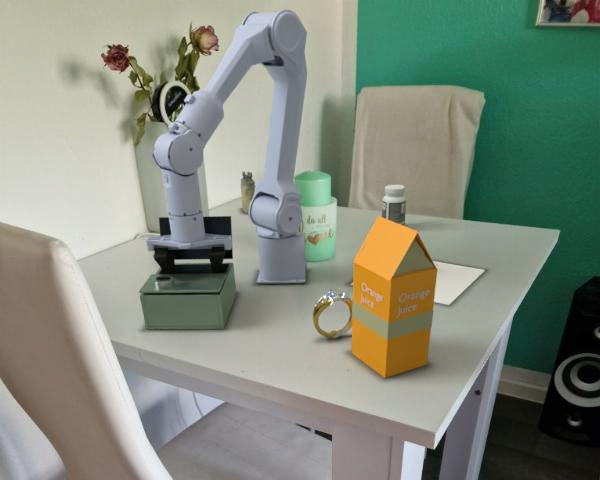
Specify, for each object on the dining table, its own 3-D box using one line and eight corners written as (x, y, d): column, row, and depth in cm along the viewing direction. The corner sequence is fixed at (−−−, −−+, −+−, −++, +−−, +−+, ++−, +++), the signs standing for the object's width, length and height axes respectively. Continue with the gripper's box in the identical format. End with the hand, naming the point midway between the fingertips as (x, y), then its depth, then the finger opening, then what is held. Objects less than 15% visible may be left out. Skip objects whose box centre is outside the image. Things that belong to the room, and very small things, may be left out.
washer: (167, 294, 106) (162, 259, 103) (236, 293, 106) (232, 258, 102) (146, 329, 94) (138, 291, 90) (223, 329, 93) (219, 290, 89)
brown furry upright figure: (258, 213, 153) (255, 175, 148) (244, 214, 152) (241, 176, 147) (253, 207, 159) (250, 169, 153) (240, 208, 158) (237, 171, 153)
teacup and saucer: (440, 269, 113) (442, 250, 111) (425, 282, 107) (427, 262, 105) (400, 262, 117) (402, 243, 115) (384, 274, 112) (385, 254, 109)
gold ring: (352, 330, 91) (353, 284, 87) (358, 339, 89) (359, 292, 84) (310, 336, 90) (309, 289, 86) (315, 344, 87) (315, 297, 83)
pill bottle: (408, 227, 138) (411, 185, 133) (398, 233, 134) (401, 190, 129) (386, 224, 141) (389, 183, 136) (377, 230, 137) (379, 188, 132)
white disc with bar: (215, 282, 93) (214, 273, 92) (212, 290, 90) (211, 280, 89) (157, 283, 94) (156, 273, 93) (152, 290, 91) (150, 280, 90)
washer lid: (162, 259, 103) (162, 259, 103) (232, 258, 102) (232, 258, 102) (158, 217, 101) (159, 217, 101) (230, 216, 100) (231, 216, 100)
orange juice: (392, 340, 88) (400, 211, 77) (428, 364, 81) (443, 226, 70) (350, 353, 85) (353, 220, 74) (384, 378, 78) (392, 237, 67)
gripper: (136, 219, 91) (150, 297, 98) (224, 217, 90) (232, 296, 97) (147, 207, 97) (160, 282, 104) (230, 206, 96) (237, 281, 103)
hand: (195, 288), depth 101 cm, fingers open, 7 cm apart
